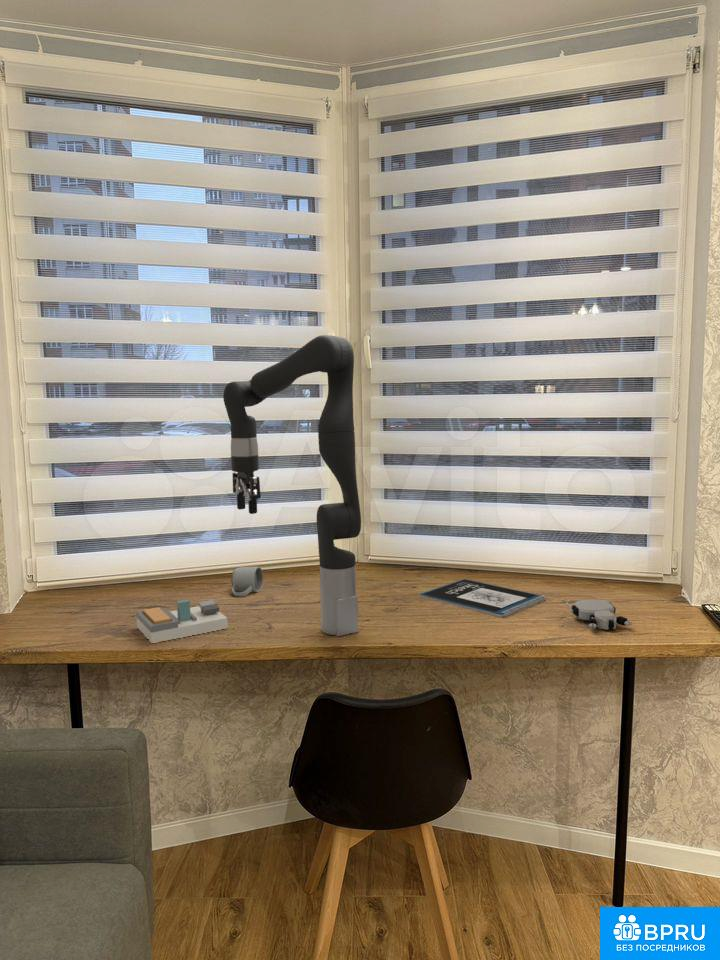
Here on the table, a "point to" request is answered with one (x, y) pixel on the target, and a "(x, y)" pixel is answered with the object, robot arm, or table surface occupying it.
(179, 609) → the slide switch
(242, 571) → the ceramic mug
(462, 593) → the sketchbook
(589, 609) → the robot toy
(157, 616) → the paddle button
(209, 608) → the rocker switch
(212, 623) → the switch panel
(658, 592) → the table surface
